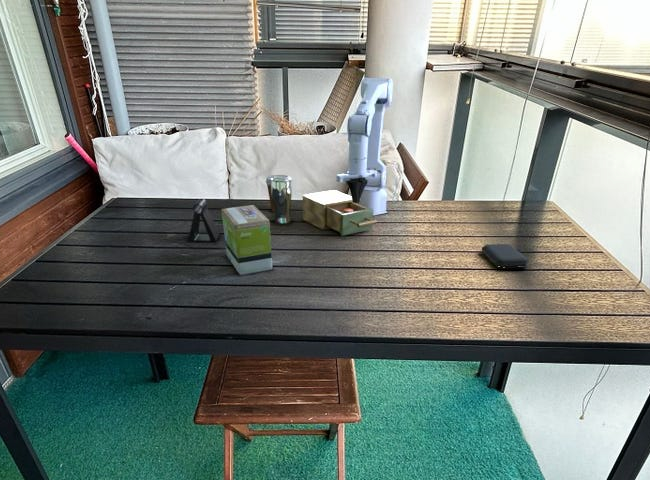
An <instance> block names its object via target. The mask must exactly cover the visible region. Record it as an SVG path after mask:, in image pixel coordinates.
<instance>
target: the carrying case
mask: <svg viewBox="0 0 650 480" xmlns="http://www.w3.org/2000/svg"><path fill="white" fill-rule="evenodd" d="M481 252H482V253H483V255H484V256H485V257H486V258H487V259H488V260H489V261H490V262H491V263H492V265H494V266H495V267H496V268H498V269H500V270H513V269H514V270H517V269H525V268H526V267H527V265H528V266H529V264H530V262H529V259H528V258H526V257H525V256H524V255H523V254H522V253H521V252H520V249H518V248H516V247H514V246H512V245H511V244H509V243H489V244H488V243H487V244H484V246H482V247H481ZM495 264H496V265H497V266H496V265H495ZM498 266H500V267H498ZM518 266H526V267H518ZM503 267H505V268H503Z"/></svg>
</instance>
